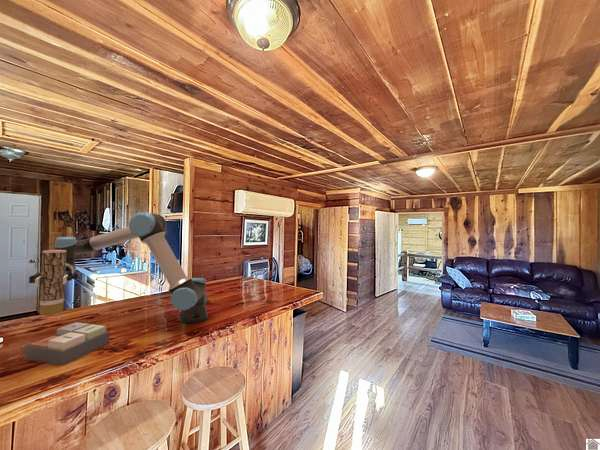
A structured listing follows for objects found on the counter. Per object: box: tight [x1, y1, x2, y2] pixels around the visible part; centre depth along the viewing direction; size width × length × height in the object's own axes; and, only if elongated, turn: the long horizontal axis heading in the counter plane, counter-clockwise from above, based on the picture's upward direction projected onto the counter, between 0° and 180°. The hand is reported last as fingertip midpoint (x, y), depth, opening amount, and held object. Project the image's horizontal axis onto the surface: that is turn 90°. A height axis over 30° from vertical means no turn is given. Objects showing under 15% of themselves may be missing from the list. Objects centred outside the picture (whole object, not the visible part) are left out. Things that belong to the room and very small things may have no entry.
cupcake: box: [205, 291, 210, 304], centre depth 170 cm, size 9×8×12 cm
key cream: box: [48, 332, 85, 351], centre depth 95 cm, size 8×8×3 cm
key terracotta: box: [29, 335, 59, 348], centre depth 97 cm, size 8×8×3 cm
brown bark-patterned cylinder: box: [38, 249, 66, 316], centre depth 97 cm, size 7×7×25 cm
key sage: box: [74, 323, 107, 340], centre depth 104 cm, size 8×8×3 cm
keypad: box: [24, 330, 110, 366], centre depth 100 cm, size 18×18×5 cm
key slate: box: [56, 321, 91, 336], centre depth 105 cm, size 8×8×3 cm
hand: (50, 281), depth 93 cm, fingers closed on brown bark-patterned cylinder, 7 cm apart
